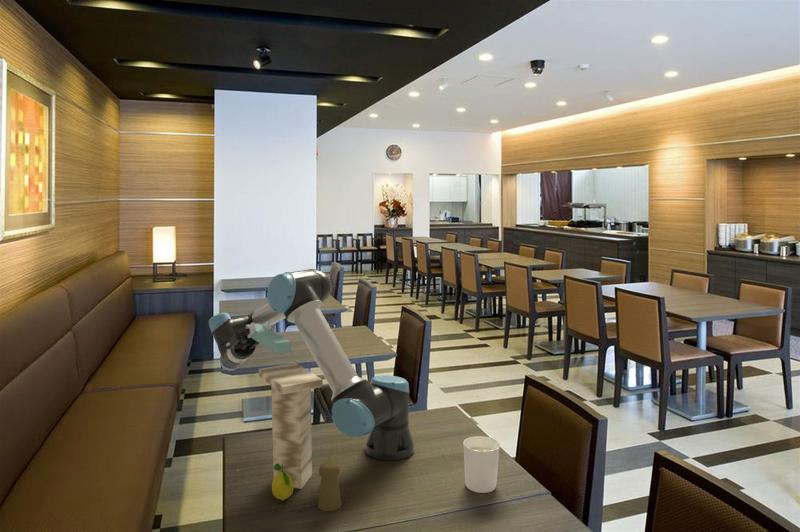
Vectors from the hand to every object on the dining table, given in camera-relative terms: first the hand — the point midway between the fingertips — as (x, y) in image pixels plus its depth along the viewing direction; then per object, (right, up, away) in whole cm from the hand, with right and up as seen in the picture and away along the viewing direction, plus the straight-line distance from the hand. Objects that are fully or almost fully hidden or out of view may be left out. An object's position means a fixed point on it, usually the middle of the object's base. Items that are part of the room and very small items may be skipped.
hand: (261, 325), depth 169 cm
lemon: (+11, -43, -23) cm, 50 cm away
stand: (+11, -41, -11) cm, 44 cm away
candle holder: (+63, -42, -15) cm, 77 cm away
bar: (+2, -5, -3) cm, 6 cm away
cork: (+23, -43, -25) cm, 55 cm away
